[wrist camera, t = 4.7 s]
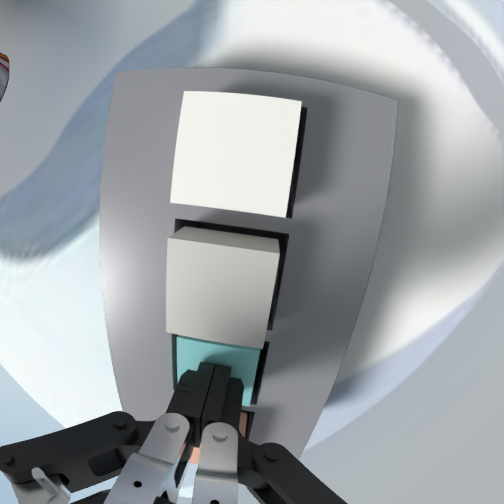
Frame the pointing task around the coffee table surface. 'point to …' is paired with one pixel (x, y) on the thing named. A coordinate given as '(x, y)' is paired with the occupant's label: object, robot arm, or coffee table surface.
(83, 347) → the coffee table surface
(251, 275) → the grey key
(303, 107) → the keypad board
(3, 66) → the soda can
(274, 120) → the block
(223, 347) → the teal key
